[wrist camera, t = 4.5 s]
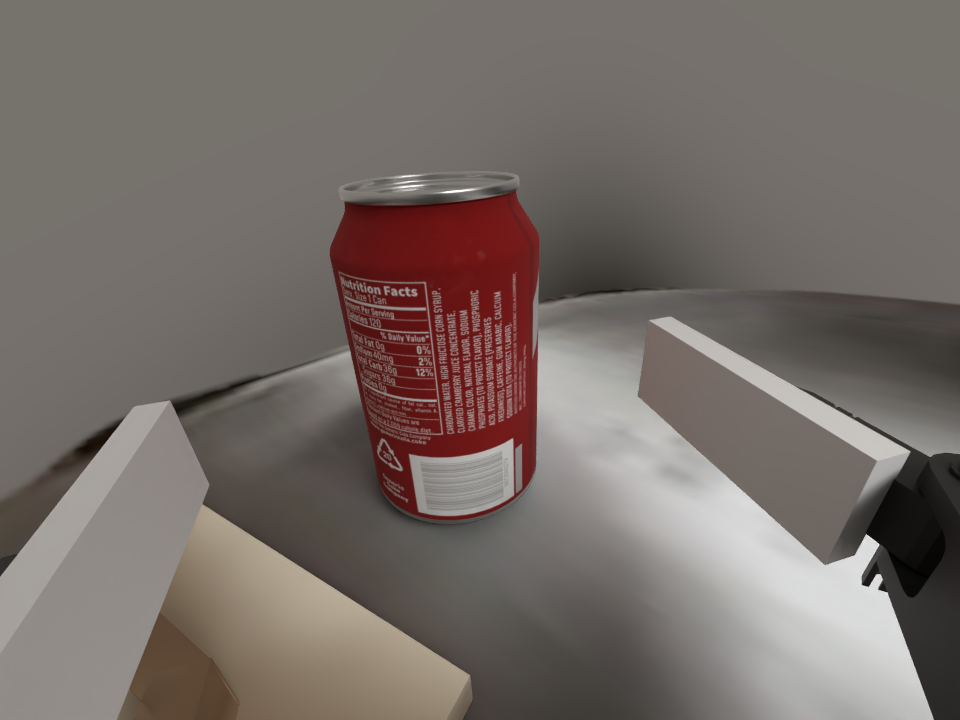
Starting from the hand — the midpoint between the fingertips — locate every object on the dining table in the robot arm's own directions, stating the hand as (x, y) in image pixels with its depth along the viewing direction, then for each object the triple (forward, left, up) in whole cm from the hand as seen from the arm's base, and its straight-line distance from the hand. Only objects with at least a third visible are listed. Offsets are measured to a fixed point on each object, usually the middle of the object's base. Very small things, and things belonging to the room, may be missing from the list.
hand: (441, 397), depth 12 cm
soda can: (-3, -2, -7) cm, 8 cm away
